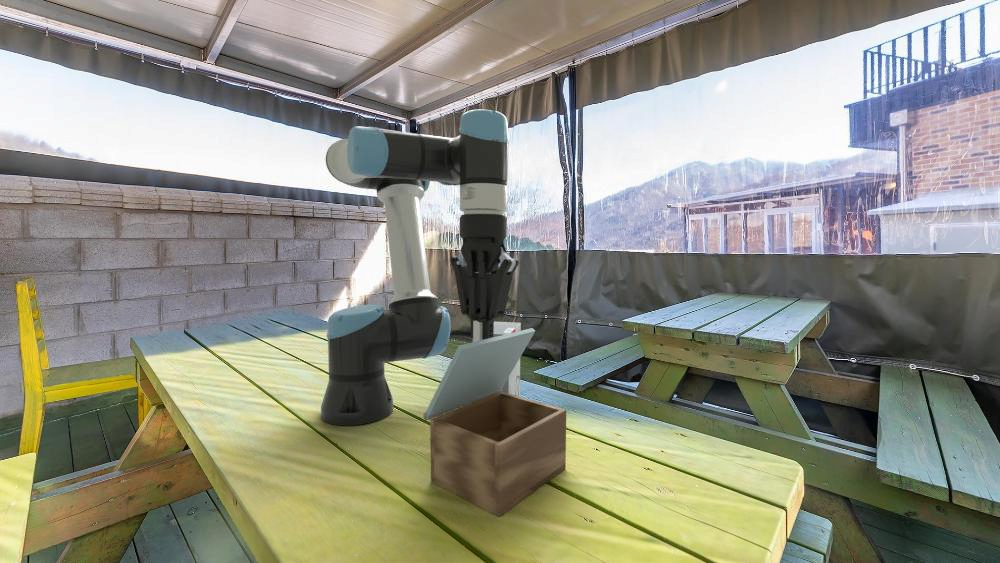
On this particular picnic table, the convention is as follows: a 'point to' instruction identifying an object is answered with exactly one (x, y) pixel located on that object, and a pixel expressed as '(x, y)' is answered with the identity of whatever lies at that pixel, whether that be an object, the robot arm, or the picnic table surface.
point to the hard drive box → (514, 379)
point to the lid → (478, 371)
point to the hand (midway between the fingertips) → (481, 359)
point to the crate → (498, 450)
